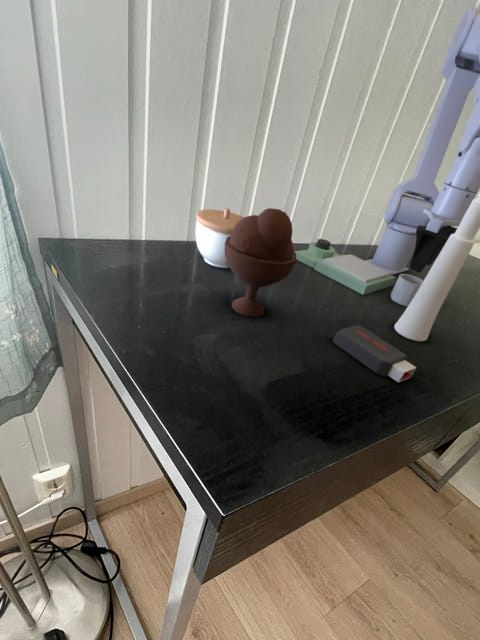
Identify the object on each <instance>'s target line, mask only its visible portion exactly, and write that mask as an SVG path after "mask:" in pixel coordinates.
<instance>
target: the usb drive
mask: <svg viewBox="0 0 480 640" xmlns="http://www.w3.org/2000/svg"><path fill="white" fill-rule="evenodd" d="M332 343H333V344H335V345H336V346H338V347H339V348H340V349H342V350H343V351H345V352H346V353H347V354H349V355H351V357H352V358H354V359H356V360H357V361H359V362H360V363H361V364H363V365H364V366H366V367H367V368H368V369H369V370H371V371H372V372H373V373H375V374H378V375H380V376H382V377H387V376H388V377H390V378H391V379H392V380H394V381H395V382H397V383H399V384H400V383H401V382H403V381H406V380H408V379H410V378H411V377H412V376H413V374H414V373H415V371H416V370H417V366H415V365H413V364H412V363H410V362H409V361H407V359H408V355H407V354H405V353H403V352H402V351H401V350H399V349H397V348H396V347H395V346H393V345H391V344H390V343H388V342H387V341H385V340H383V339H382V338H380V336H378V335H376V334H374V333H373V332H371V331H370V330H369V329H367V328H366V327H363V326H362V325H359V324H358V325H354V326H350V327H349V326H348V327H345V328H341V329H340V330H338V331H337V332H336V333H335V334H334V336H333V339H332Z"/></svg>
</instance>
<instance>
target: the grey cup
mask: <svg viewBox="0 0 480 640" xmlns="http://www.w3.org/2000/svg"><path fill="white" fill-rule="evenodd" d="M423 281H424V279H422V278H420V277H418V276H416V275H413V274H407V273H399V276H398V277H397V279H396V282H395V284H394V285H393V288H392V289H391V292H390V299H391V300H392V301H393V302H395V303H396V304H398V305H400V306H404V307H406V308H407V307H408V306H409V304H410V303H411V301H412V299H413V298H414V296H415V295H416V293H417V291H418V290H419V288H420V286H421V285H422V283H423Z"/></svg>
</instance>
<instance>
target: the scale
mask: <svg viewBox="0 0 480 640" xmlns="http://www.w3.org/2000/svg"><path fill="white" fill-rule="evenodd" d="M313 270H314V271H316V272H318V273H320V274H322V275H324V276H326V277H328V278H330V279H331V280H333V281H335V282H338V283H339V284H340V285H343V286H345V287H347V288H348V289H351V290H353V291H355V292H356V293H358V294H361V295H362V296H364V295H368V294H371V293H374V292H377V291H380V290H383V289H386V288H390V287H392V286H394V285H393V284H394V282H395V280H396V276H394V275H391V273H389V272H387V271H385V270H383V269H381V268H379V267H377V266H375V265H372V264H370V263H368V262H366V261H365V260H364V259H361V258H360V257H358V256H356V255H354V254H351V253H350V254H343V255H342V256H337V257H332V258H326V259H322V260H317V261H316V264H315V267H314V268H313Z"/></svg>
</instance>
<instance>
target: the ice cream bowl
mask: <svg viewBox="0 0 480 640" xmlns="http://www.w3.org/2000/svg"><path fill="white" fill-rule="evenodd" d="M243 217H244V218H243V219H241V220H240V221H238V223H237V224H236V225H235V226H234V229H233V232H232V235H231V236H230V237H227V239H226V241H225V257H226V261H227V264H228V266H229V267H230V268H229V269H230V270H231V272H232V273H233V274H234V275H235V276H236V277H237V278H238V280H240V281H241V282H242V283H244V284H245V285H246V291H245V296H242V297H238V298H235V299H234V300H233V301H232V303H231V308H232V309H233V310H234V311H235V312H236V313H237V314H240V315H242V316H246V317H256V318H258V317H261V316H263V315H265V314H264V313H265V306H264V305H263V304H262V303H261V302H259V300H258V299H257V294H258V291H259V289H260V288H264V287H268V286H272V285H274V284H278V283H279V282H281V281H283V280H284V279H286V278H287V277H288V276H289V275H290V274H291V272H292V271H293V269H294V267H295V265H296V264H297V261H298V260H297V259H296V253H295V251H294V243H293V240H292V237H293V223H292V220H291V218H290V217H289V215H288V214H287V213H286V212H285V211H283V210H281V209H279V208H273V207H272V208H271V207H269V208H265V209H264V210H263V211H262V212H260V213H259V215H258V214H257V215H256V214H251V215H249V216H248V215H247V216H243Z"/></svg>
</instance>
